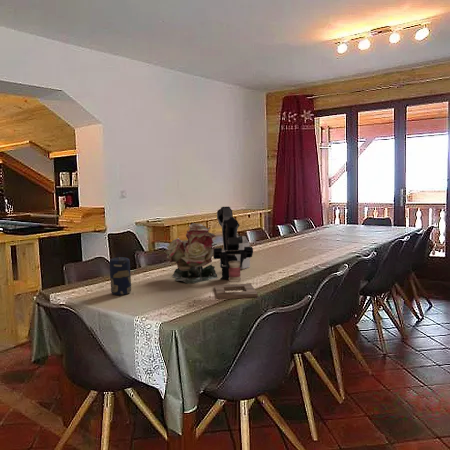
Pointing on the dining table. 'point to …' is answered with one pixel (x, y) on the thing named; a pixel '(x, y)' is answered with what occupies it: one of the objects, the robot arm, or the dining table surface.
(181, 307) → the dining table surface
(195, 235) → the rose bouquet
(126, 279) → the dark blue canister
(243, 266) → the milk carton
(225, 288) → the brown flat piece
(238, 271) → the red and beige cylinder
